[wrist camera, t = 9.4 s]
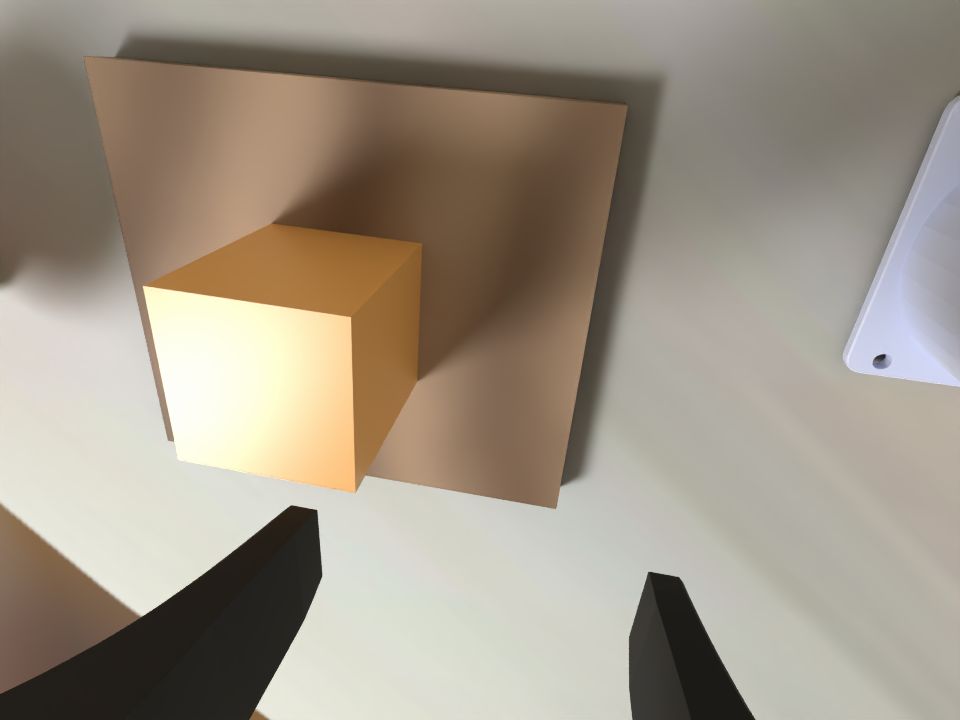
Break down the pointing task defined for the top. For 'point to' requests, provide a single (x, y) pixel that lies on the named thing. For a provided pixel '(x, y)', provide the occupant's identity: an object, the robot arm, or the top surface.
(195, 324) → the orange wooden cube
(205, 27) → the top surface
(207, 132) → the post board
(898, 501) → the top surface
